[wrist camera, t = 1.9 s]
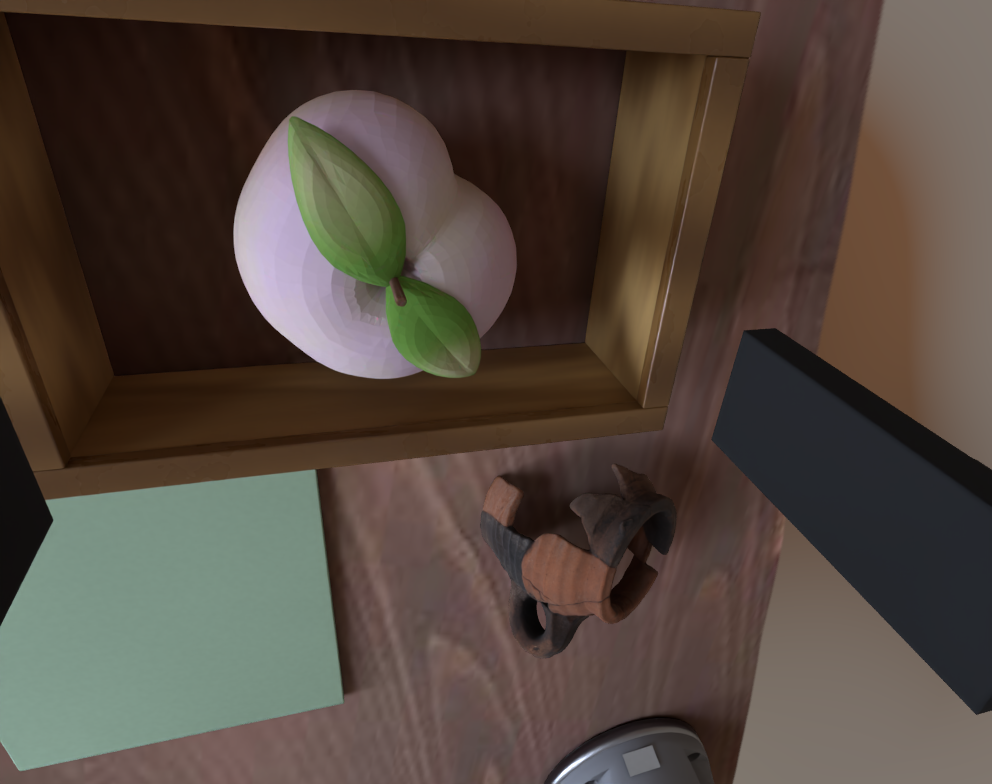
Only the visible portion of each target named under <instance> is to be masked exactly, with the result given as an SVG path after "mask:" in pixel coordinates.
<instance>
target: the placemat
mask: <svg viewBox="0 0 992 784" xmlns="http://www.w3.org/2000/svg"><path fill="white" fill-rule="evenodd" d="M45 501H46V504H47V506H48V508H49V511H50V513H51V515H52V517H53V522H52V524H51V526H50V528H49V530H48V532H47V534H46V536H45V538H44V540H43V542H42V544H41V546H40V548H39V550H38V552H37V554H36V556H35V558H34V560H33V562H32V564H31V566H30V568H29V570H28V572H27V574H26V576H25V578H24V580H23V582H22V584H21V586H20V588H19V590H18V592H17V594H16V596H15V598H14V600H13V602H12V604H11V606H10V608H9V610H8V612H7V614H6V616H5V618H4V620H3V622H2V624H1V626H0V741H1V743H2V744H3V746H4V747H5V749H6V751H7V752H8V754H9V755H10V757H11V758H12V760H13V762H14V763H15V765H16V766H17V768H18V769H19V771H24V770H28V769H33V768H38V767H43V766H48V765H52V764H57V763H62V762H67V761H71V760H76V759H81V758H86V757H90V756H95V755H100V754H105V753H109V752H114V751H119V750H124V749H129V748H133V747H138V746H143V745H148V744H152V743H157V742H162V741H167V740H171V739H176V738H181V737H186V736H190V735H195V734H200V733H205V732H209V731H214V730H219V729H224V728H229V727H233V726H238V725H243V724H248V723H252V722H257V721H262V720H267V719H271V718H276V717H281V716H286V715H290V714H295V713H300V712H305V711H310V710H314V709H319V708H324V707H329V706H333V705H338V704H343V703H344V692H343V684H342V676H341V667H340V659H339V651H338V643H337V634H336V626H335V618H334V610H333V601H332V593H331V585H330V576H329V568H328V560H327V552H326V543H325V535H324V527H323V519H322V510H321V502H320V494H319V486H318V477H317V469H315V470H306V471H297V472H289V473H280V474H271V475H262V476H253V477H245V478H236V479H227V480H218V481H209V482H201V483H192V484H183V485H174V486H166V487H157V488H148V489H139V490H130V491H122V492H113V493H104V494H95V495H86V496H78V497H69V498H60V499H51V500H45Z"/></svg>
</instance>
